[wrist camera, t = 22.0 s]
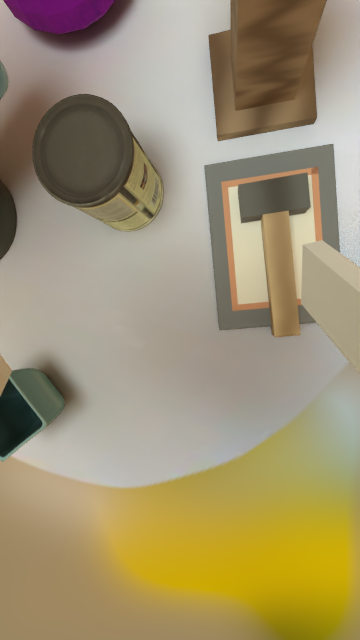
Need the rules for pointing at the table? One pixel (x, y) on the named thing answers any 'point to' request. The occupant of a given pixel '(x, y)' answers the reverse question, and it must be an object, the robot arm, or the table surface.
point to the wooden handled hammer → (277, 241)
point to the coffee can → (96, 163)
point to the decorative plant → (59, 13)
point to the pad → (246, 238)
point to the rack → (265, 67)
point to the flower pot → (26, 408)
